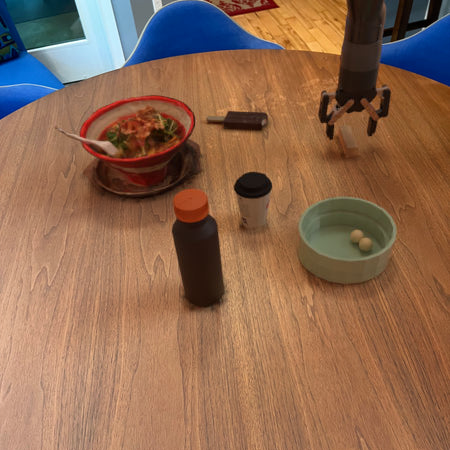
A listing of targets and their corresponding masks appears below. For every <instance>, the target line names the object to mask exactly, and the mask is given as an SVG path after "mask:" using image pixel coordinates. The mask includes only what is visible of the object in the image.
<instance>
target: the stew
mask: <svg viewBox="0 0 450 450" xmlns="http://www.w3.org/2000/svg"><path fill="white" fill-rule="evenodd" d="M195 127H196V115H195V112H194V111H192V109H191V108H190V107H189V106H188V105H187V104H186V103H185V102H184V101H182V100H179V99H176V98H174V97H170V96H165V95H158V94H156V95H155V94H148V95H142V96H136V97H135V96H132V97H128V98H122V99H119V100H117V101H114V102H112V103H109V104H106V105H104V106H101V107H99V108H98V109H96V110H95V111H93V112H91V114H90V115H89V116H88V117H87V118H86V120H85V121H83V123H82V125H81V126H80V130H79V132H78V133H79V135H77V134H74V133H70V132H68V131H65V130H63V129H62V128H61V127H57V126H54V129H56V130H57V131H58V132H60V133H62V134H63V135H64V136H66V137H67V138H70V139H73V140H76V141H78V142H80V144H81V146H82V148H83V149H84V151H86V152H87V153H88V154H90V155H91V156H93V157H95V158H93V160H92V161H91V162H90V163H89V164H88V165H86V167H85V168H84V169H83V170H82V175H83V176H85V177H86V178H87V179H88V182H89V184H90V186H91V187H92V188H94V189H95V190H96V191H98V192H99V193H100V194H105V193H107V194H108V195H110V196H113V197H116V198H121V199H123V198H124V199H128V200H145V199H152V198H156V197H159V196H163V195H165V194H166V193H169V192H172V191H174V190H176V189H177V188H178V187H180V186H182V185H184V184H185V183H186V182H188V181H190V180H191V179H192V178H193V176H198V175H199V174H201V171H202V165H201V161H200V156H201V155H202V154H201V146H200V144H198V143H197V142H195V141H194V140H192V139H190V137H191V135H192V134H193V132H194V130H195ZM168 177H171V180H170V181H169V183H168V184H166V185H163V186H162V187H160V188H157V189H153V188H152V189H151V188H148V187H159V186H160V184H164V182H165V180H166V179H167V178H168ZM113 179H119V180H120V181H122V184H123V185H124V186H125V187H122V188H121V189H120V188H119V187H118V186H116V185H115V184H114V183H118V181H117V180H115V181H114V180H113ZM123 181H124V182H123ZM113 182H114V183H113ZM128 185H133V186H138V187H145V188H147V189H145V190H143V189H142V190H131V189H129V188H126V186H128Z"/></svg>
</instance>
